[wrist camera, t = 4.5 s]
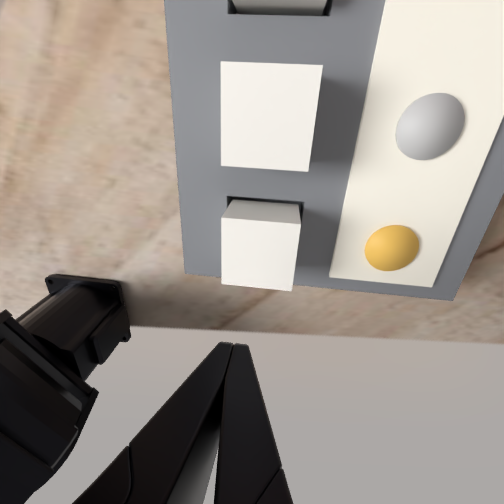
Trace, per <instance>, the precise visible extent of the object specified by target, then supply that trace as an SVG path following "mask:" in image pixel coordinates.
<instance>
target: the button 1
mask: <svg viewBox="0 0 504 504" xmlns="http://www.w3.org/2000/svg"><path fill="white" fill-rule="evenodd" d="M232 1H233V3H234V5H235V8H236V10H237V12H238V14H245V15H288V16H321V15H322V13H323V10H324V7H325V4H326V1H327V0H232Z"/></svg>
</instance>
